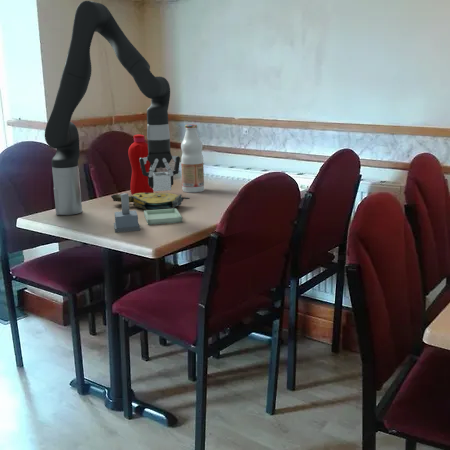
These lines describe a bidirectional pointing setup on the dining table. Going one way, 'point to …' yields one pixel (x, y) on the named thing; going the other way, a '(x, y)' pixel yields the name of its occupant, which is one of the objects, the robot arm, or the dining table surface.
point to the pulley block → (153, 200)
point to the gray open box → (161, 181)
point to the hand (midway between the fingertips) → (161, 186)
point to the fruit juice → (192, 161)
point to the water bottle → (135, 153)
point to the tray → (162, 216)
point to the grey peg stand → (126, 217)
